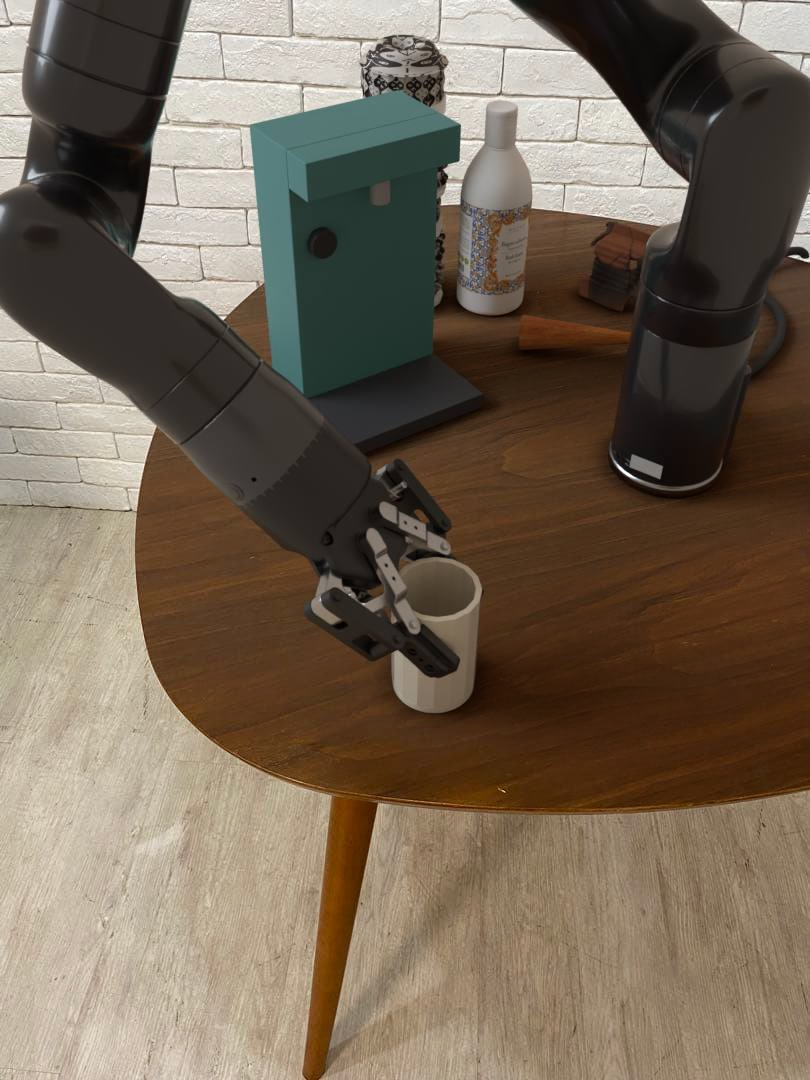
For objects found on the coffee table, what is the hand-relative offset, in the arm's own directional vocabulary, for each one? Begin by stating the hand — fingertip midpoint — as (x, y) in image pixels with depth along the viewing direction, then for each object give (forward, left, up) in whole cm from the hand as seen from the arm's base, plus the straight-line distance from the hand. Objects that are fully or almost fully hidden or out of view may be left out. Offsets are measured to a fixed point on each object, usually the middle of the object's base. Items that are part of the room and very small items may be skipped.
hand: (461, 634), depth 68 cm
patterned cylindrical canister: (-26, -46, -5) cm, 53 cm away
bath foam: (-33, -40, -5) cm, 52 cm away
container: (+1, -1, -5) cm, 6 cm away
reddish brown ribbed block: (-46, -33, -5) cm, 57 cm away
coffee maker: (-14, -33, -5) cm, 36 cm away
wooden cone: (-37, -24, -5) cm, 45 cm away
